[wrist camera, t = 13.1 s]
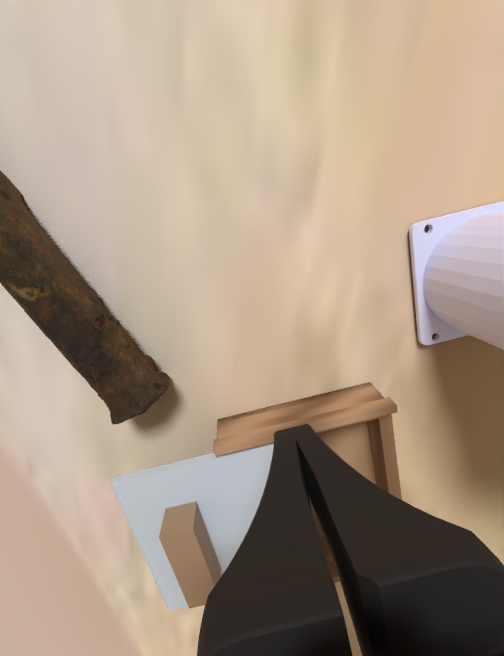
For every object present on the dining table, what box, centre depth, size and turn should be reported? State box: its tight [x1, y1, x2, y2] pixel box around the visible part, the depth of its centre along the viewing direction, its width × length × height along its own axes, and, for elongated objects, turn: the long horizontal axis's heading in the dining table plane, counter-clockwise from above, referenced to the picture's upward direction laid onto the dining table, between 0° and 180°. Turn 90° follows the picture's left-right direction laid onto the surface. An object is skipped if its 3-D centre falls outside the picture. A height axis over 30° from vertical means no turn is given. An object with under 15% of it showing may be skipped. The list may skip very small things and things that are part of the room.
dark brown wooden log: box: [0, 171, 169, 424], centre depth 17 cm, size 19×4×5 cm, turn 29°
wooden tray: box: [213, 382, 402, 582], centre depth 23 cm, size 11×13×4 cm
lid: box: [111, 442, 274, 611], centre depth 21 cm, size 11×11×3 cm
